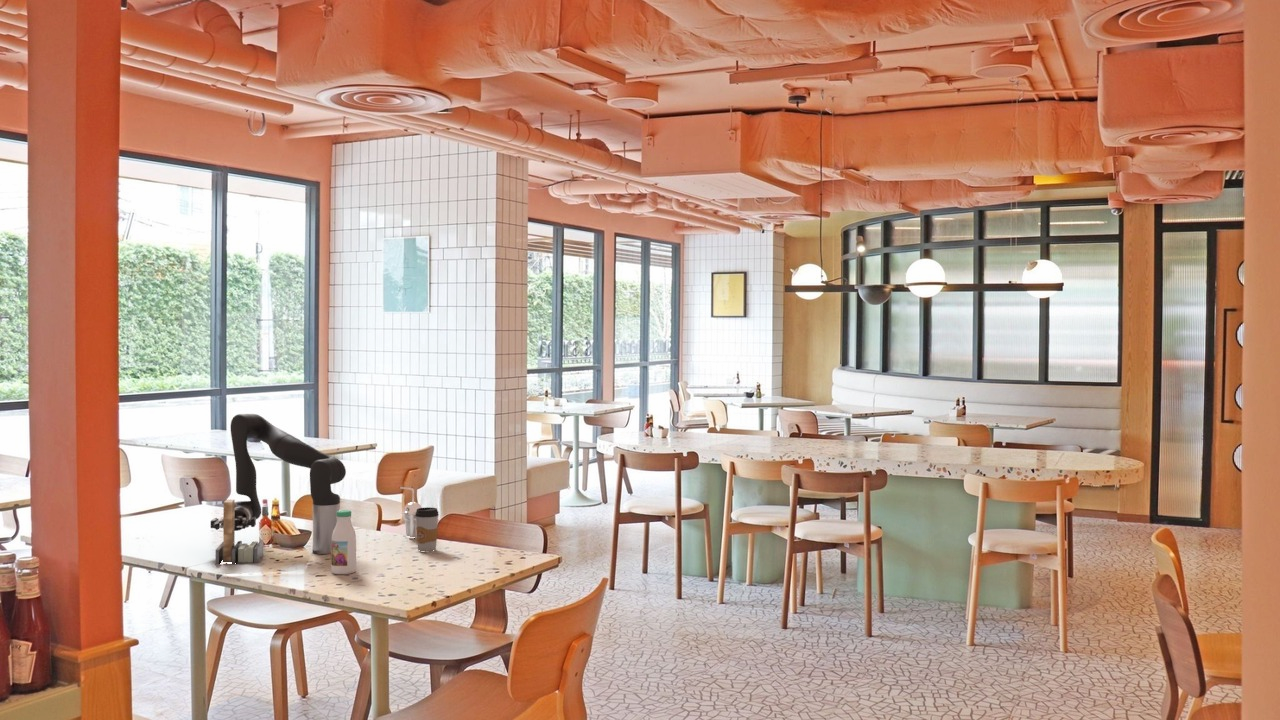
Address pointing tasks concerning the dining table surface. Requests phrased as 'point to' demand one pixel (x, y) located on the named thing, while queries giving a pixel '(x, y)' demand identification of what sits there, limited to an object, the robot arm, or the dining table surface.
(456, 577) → the dining table surface
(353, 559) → the milk bottle
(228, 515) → the oak block
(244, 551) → the pale green grooved block
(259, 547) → the sheet rack
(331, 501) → the robot arm
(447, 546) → the dining table surface
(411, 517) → the cup with straw
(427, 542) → the coffee cup
